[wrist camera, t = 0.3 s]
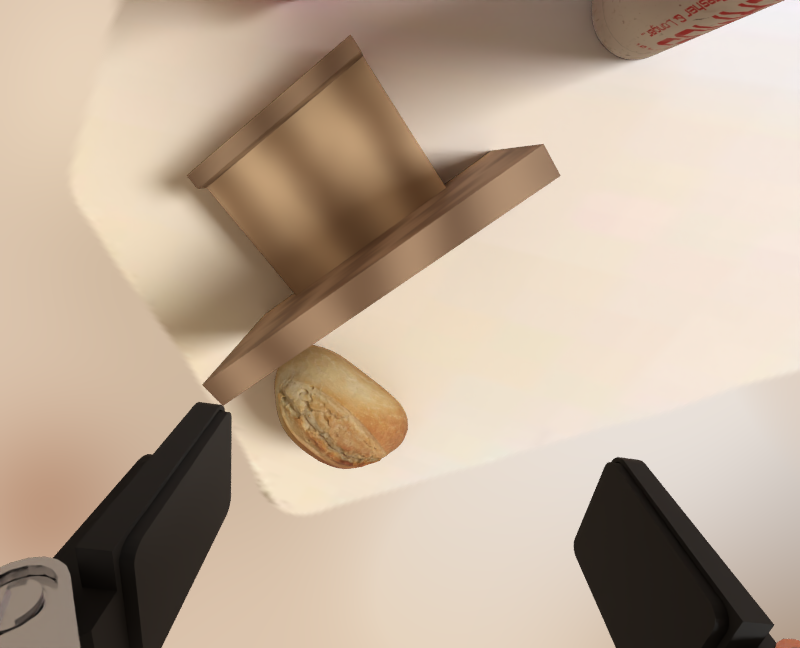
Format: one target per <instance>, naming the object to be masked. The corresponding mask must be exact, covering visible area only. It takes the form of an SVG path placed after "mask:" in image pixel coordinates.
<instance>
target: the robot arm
mask: <svg viewBox="0 0 800 648" xmlns="http://www.w3.org/2000/svg"><path fill="white" fill-rule="evenodd" d="M231 419H232V418H231V413H230V412H225V409H224V406H222V405H217V404H210V403H202V402H198V403H196V404H195V405H194V406H193V407H192V409H191V410H190V411H189V412H188V413H187V415H186V416H185V417H184V418H183V419H182V420H181V422H180V423H179V424H178V425H177V426H176V428H175V429H174V430H173V431H172V432H171V434H170V435H169V436H168V437H167V438H166V440H165V441H164V442H163V443H162V444H161V445H160V447H159V448H158V449H157V450H156V452H155V453H154V454H153V455H151V454H147V455H145V456H143V457H142V458H140V459H139V460H138V461H137V462H136V464H135V465H134V466H133V467H132V468H131V469H130V470H129V472H128V473H127V474H126V475H125V476H124V477H123V478H122V480H121V481H120V482H119V483H118V484H117V485H116V486H115V487H114V489H113V490H112V491H111V492H110V493H109V495H108V496H107V497H106V498H105V499H104V500H103V501H102V503H101V504H100V505H99V506H98V507H97V508H96V509H95V510H94V512H93V513H92V514H91V515H90V516H89V517H88V519H87V520H86V521H85V522H84V523H83V524H82V525H81V526H80V528H79V529H78V530H77V531H76V532H75V533H74V535H73V536H72V537H71V538H70V539H69V540H68V541H67V542H66V544H65V545H64V546H63V547H62V548H61V549H60V550H59V552H58V553H57V554H56V555H55V556H54V557H53V558H48V557H33V558H26V559H22V560H19V561H15V562H11V563H9V564H7V565H4V566H2V567H0V648H161V647H162V645H163V643H164V641H165V639H166V637H167V635H168V633H169V631H170V629H171V627H172V625H173V623H174V621H175V618H176V617H177V615H178V613H179V611H180V609H181V607H182V604H183V603H184V600H185V598H186V596H187V594H188V592H189V590H190V588H191V586H192V584H193V582H194V580H195V578H196V576H197V574H198V572H199V570H200V568H201V566H202V564H203V562H204V560H205V558H206V556H207V553H208V552H209V550H210V548H211V545H212V543H213V541H214V539H215V537H216V535H217V533H218V531H219V529H220V527H221V525H222V523H223V521H224V519H225V517H226V515H227V512H228V509H229V506H230V501H231ZM574 551H575V556H576V558H577V560H578V563H579V565H580V567H581V569H582V572H583V574H584V576H585V579H586V581H587V583H588V585H589V588H590V590H591V592H592V594H593V597H594V599H595V601H596V604H597V606H598V608H599V610H600V612H601V615H602V617H603V619H604V622H605V624H606V626H607V628H608V631H609V633H610V635H611V638H612V640H613V642H614V644H615V647H616V648H800V641H799V640H796V639H782V640H780V641H779V642H777V643H776V642H775V641H774V639H773V638H772V637H771V635H770V634H769V631H770V630H771V629H772V627H773V626H774V624H773V623H772V622H771V620H770V619H769V618H768V616H767V615H766V614H765V613H764V612H763V610H762V609H761V608H760V607H759V605H758V604H757V603H756V602H755V600H754V599H753V598H752V597H751V595H750V594H749V593H748V592H747V590H746V589H745V588H744V587H743V585H742V584H741V583H740V582H739V580H738V579H737V578H736V577H735V576H734V574H733V573H732V572H731V571H730V569H729V568H728V567H727V565H726V564H725V563H724V562H723V560H722V559H721V558H720V557H719V555H718V554H717V553H716V552H715V550H714V549H713V548H712V547H711V545H710V544H709V543H708V542H707V540H706V539H705V538H704V537H703V536H702V534H701V533H700V532H699V530H698V529H697V528H696V527H695V525H694V524H693V523H692V522H691V521H690V519H689V518H688V517H687V516H686V514H685V513H684V512H683V511H682V509H681V508H680V507H679V506H678V504H677V503H676V502H675V501H674V499H673V498H672V497H671V496H670V494H669V493H668V492H667V491H666V490H665V488H664V487H663V486H662V484H661V483H660V482H659V481H658V479H657V478H656V477H655V476H654V474H653V473H652V472H651V471H650V470H649V468H648V467H647V466H646V464H645V463H644V462H642V461H640V460H635V459H627V458H619V457H617V458H615V459H613V460H612V462H609V463H607V464H606V466H605V467H604V470H603V472H602V475H601V478H600V479H599V482H598V485H597V487H596V489H595V492H594V494H593V496H592V499H591V501H590V504H589V506H588V508H587V511H586V513H585V516H584V518H583V520H582V523H581V526H580V528H579V530H578V533H577V535H576V537H575V540H574Z"/></svg>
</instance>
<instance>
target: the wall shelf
mask: <svg viewBox="0 0 800 648" xmlns="http://www.w3.org/2000/svg"><path fill="white" fill-rule="evenodd" d="M187 176H188V178H189V179H190V180H191V181H192V182H193V184H194V185H195V186H196V187H197V188H198V189H201V188H207V189H208V190H209V191H210V192H211V193H212V195H213V196H214V197H215V198H216V200H217V201H218V202H219V203H220V204H221V206H222V207H223V208H224V209H225V210H226V212H227V213H228V214H229V215H230V216H231V218H232V219H233V220H234V221H235V222H236V224H237V225H238V226H239V227H240V228H241V230H242V231H243V232H244V233H245V234H246V236H247V237H248V238H249V239H250V240H251V242H252V243H253V244H254V245H255V246H256V248H257V249H258V250H259V251H260V252H261V254H262V255H263V256H264V257H265V259H266V260H267V261H268V262H269V263H270V265H271V266H272V267H273V268H274V269H275V271H276V272H277V273H278V274H279V275H280V277H281V278H282V279H283V280H284V281H285V283H286V284H287V285H288V286H289V287H290V289H291V290H292V291H293V292H294V294H293V295H291V296H290V297H288V298H287V299H286V300H284V301H283V302H281V303H280V304H279V305H277V306H276V307H275V308H273V309H272V310H270V311H269V312H268V313H266V314H265V315H264V316H263V317H262V318H261V319H260V320H259V322H258V323H257V324H256V325H255V326H254V327H253V328H252V329H251V331H250V332H249V333H248V334H247V335H246V336H245V337H244V338H243V340H242V341H241V342H240V343H239V344H238V345H237V346H236V347H235V349H234V350H233V351H232V352H231V353H230V354H229V355H228V356H227V358H226V359H225V360H224V361H223V362H222V363H221V364H220V365H219V367H218V368H217V369H216V370H215V371H214V372H213V373H212V374H211V376H210V377H209V378H208V379H207V380H206V381H205V382H204V383H203V386H204V387H205V388H206V389H207V390H208V391H209V392H210V393H211V394H212V395H213V396H214V397H215V398H216V399H217V400H218V401H219V402H220V403H221V404H222V405H225V404H226V403H228V402H229V401H231V400H232V399H233V398H235V397H236V396H238V395H239V394H241V393H242V392H244V391H245V390H247V389H248V388H250V387H251V386H253V385H254V384H256V383H257V382H258V381H260V380H261V379H263V378H264V377H266V376H267V375H269V374H270V373H272V372H273V371H275V370H276V369H278V368H279V367H280V366H282V365H283V364H285V363H286V362H288V361H289V360H291V359H292V358H294V357H295V356H297V355H298V354H300V353H301V352H302V351H304V350H305V349H307V348H308V347H310V346H311V345H313V344H314V343H316V342H317V341H319V340H320V339H322V338H323V337H324V336H326V335H327V334H329V333H330V332H332V331H333V330H335V329H336V328H338V327H339V326H341V325H342V324H344V323H345V322H346V321H348V320H349V319H351V318H352V317H354V316H355V315H357V314H358V313H360V312H361V311H363V310H364V309H366V308H367V307H369V306H370V305H371V304H373V303H374V302H376V301H377V300H379V299H380V298H382V297H383V296H385V295H386V294H388V293H389V292H391V291H392V290H393V289H395V288H396V287H398V286H399V285H401V284H402V283H404V282H405V281H407V280H408V279H410V278H411V277H413V276H414V275H415V274H417V273H418V272H420V271H421V270H423V269H424V268H426V267H427V266H429V265H430V264H432V263H433V262H435V261H436V260H437V259H439V258H440V257H442V256H443V255H445V254H446V253H448V252H449V251H451V250H452V249H454V248H455V247H457V246H458V245H459V244H461V243H462V242H464V241H465V240H467V239H468V238H470V237H471V236H473V235H474V234H476V233H477V232H479V231H480V230H482V229H483V228H484V227H486V226H487V225H489V224H490V223H492V222H493V221H495V220H496V219H498V218H499V217H501V216H502V215H504V214H505V213H506V212H508V211H509V210H511V209H512V208H514V207H515V206H517V205H518V204H520V203H521V202H523V201H524V200H526V199H527V198H528V197H530V196H531V195H533V194H534V193H536V192H537V191H539V190H540V189H542V188H543V187H545V186H546V185H548V184H549V183H550V182H552V181H553V180H555V179H556V178H558V177H559V176H560V174H559V172H558V170H557V168H556V167H555V165H554V163H553V161H552V159H551V157H550V155H549V153H548V152H547V150H546V148H545V146H544V144H540V145H532V146H524V147H516V148H508V149H501V150H493V151H490V152H489V153H488V154H486V155H485V156H483V157H482V158H481V159H479V160H478V161H476V162H475V163H474V164H472V165H471V166H470V167H468V168H467V169H465V170H464V171H463V172H461V173H460V174H458V175H457V176H456V177H454V178H453V179H452V180H450V181H449V182H447V183H446V184H445V185H444V184H443V182H442V180H441V179H440V177H439V176H438V174H437V173H436V171H435V169H434V168H433V166H432V165H431V163H430V162H429V160H428V158H427V157H426V155H425V154H424V152H423V150H422V149H421V147H420V146H419V144H418V143H417V141H416V139H415V138H414V136H413V135H412V133H411V132H410V130H409V128H408V127H407V125H406V124H405V122H404V120H403V119H402V117H401V116H400V114H399V113H398V111H397V109H396V108H395V106H394V105H393V103H392V102H391V100H390V98H389V97H388V95H387V94H386V92H385V90H384V89H383V87H382V86H381V84H380V83H379V81H378V79H377V78H376V76H375V75H374V73H373V72H372V70H371V68H370V67H369V65H368V64H367V62H366V61H365V59H364V57H363V55H362V52H361V50H360V49H359V47H358V46H357V44H356V42H355V41H354V39H353V38H352V36H351V35H350V36H348V37H347V38H346V39H345V40H344V41H343V42H341V43H340V44H339V45H338V46H337V47H336V48H334V49H333V50H332V51H331V52H330V53H329V54H327V55H326V56H325V57H324V58H323V59H322V60H320V61H319V62H318V63H317V64H316V65H315V66H314V67H312V68H311V69H310V70H309V71H308V72H307V73H305V74H304V75H303V76H302V77H301V78H300V79H298V80H297V81H296V82H295V83H294V84H293V85H291V86H290V87H289V88H288V89H287V90H286V91H284V92H283V93H282V94H281V95H280V96H279V97H277V98H276V99H275V100H274V101H273V102H272V103H270V104H269V105H268V106H267V107H266V108H265V109H264V110H262V111H261V112H260V113H259V114H258V115H257V116H255V117H254V118H253V119H252V120H251V121H250V122H248V123H247V124H246V125H245V126H244V127H243V128H241V129H240V130H239V131H238V132H237V133H236V134H234V135H233V136H232V137H231V138H230V139H229V140H227V141H226V142H225V143H224V144H223V145H222V146H220V147H219V148H218V149H217V150H216V151H215V152H214V153H212V154H211V155H210V156H209V157H208V158H207V159H205V160H204V161H203V162H202V163H201V164H200V165H198V166H197V167H196V168H195V169H194V170H193V171H191V172H190V173H189V174H188V175H187Z"/></svg>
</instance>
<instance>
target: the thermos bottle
mask: <svg viewBox="0 0 800 648" xmlns="http://www.w3.org/2000/svg"><path fill="white" fill-rule="evenodd" d="M781 1H784V0H592V20H593V26H594V29H595V32H596V34H597V37H598V38H599V40H600V41H601V43H602V45H603V46H604V47H605V48H606V49H607V50H608V51H609V52H611V53H613V54H614V55H616V56H618V57H621V58H625V59H633V60H638V59H643V58H648V57H650V56H653V55H655V54H658V53H660V52H663V51H665V50H667V49H670V48H672V47H675V46H677V45H679V44H682V43H684V42H686V41H689V40H691V39H693V38H696V37H698V36H701V35H703V34H705V33H708V32H710V31H712V30H715V29H717V28H720V27H722V26H724V25H727V24H729V23H731V22H734V21H736V20H739V19H741V18H743V17H746V16H748V15H750V14H753V13H755V12H758V11H760V10H762V9H765V8H767V7H769V6H772V5H774V4H777V3H779V2H781Z"/></svg>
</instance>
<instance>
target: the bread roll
mask: <svg viewBox="0 0 800 648" xmlns="http://www.w3.org/2000/svg"><path fill="white" fill-rule="evenodd" d="M274 389H275V398H276V407H277V412H278V416H279V419H280V422H281V425H282V427H283V428H284V430H285V432H286V433H287V434H288V436H289V437H290V438H291V439H292V440H293V441H294V442H295V443H296V444H297V445H298V446H299V447H300V448H301V449H302V450H304V451H305V452H306V453H308V454H309V455H311V456H312V457H314V458H315V459H317V460H318V461H320V462H322V463H325V464H327V465H329V466H332V467H336V468H342V469H350V468H357V467H363V466H365V465H368V464H371V463H374V462H378V461H380V460H381V458H383V457H385V456H387V455H388V454H389V453H390V452H392V451H393V450H395V449H396V448H397V447H398V446H399V445H400V444H401V443H402V441H403V440H404V438H405V435H406V433H407V430H408V423H407V416H406V413H405V411H404V409H403V408H402V406H401V404H400V403H399V402H398V401H397V400H396V399H395V398H394V397H393V396H392V395H391V394H389V393H388V392H387V391H386V390H385V389H384V388H382V387H381V386H380V385H379V384H377V383H376V382H375V381H374V380H372V379H371V378H370V377H368V376H367V375H366V374H365V373H363V372H362V371H361V370H359V369H358V368H357V367H356V366H354V365H353V364H352V363H350V362H349V361H347V360H346V359H345V358H343V357H342V356H340V355H339V354H337V353H335V352H333V351H331V350H328V349H325V348H323V347H318V346H315V345H311V346H310V347H308V348H307V349H305V350H304V351H302V352H301V353H300V354H298V355H297V356H295V357H294V358H292V359H291V360H289V361H288V362H286V363H285V364H283V365H282V366H280V367H279V368H278V370H277V373H276V377H275V386H274Z"/></svg>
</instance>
